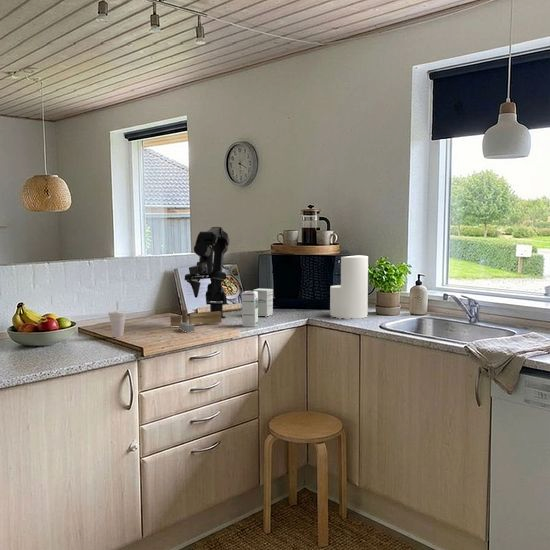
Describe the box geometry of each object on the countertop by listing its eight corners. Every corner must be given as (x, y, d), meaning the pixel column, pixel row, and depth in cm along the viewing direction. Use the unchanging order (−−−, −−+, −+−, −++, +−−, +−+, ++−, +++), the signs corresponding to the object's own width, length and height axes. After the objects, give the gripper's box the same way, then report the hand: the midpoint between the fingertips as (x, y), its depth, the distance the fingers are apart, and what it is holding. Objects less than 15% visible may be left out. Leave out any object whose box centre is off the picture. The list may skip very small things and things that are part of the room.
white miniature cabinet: (255, 327, 234) (255, 292, 233) (241, 326, 235) (241, 292, 234) (258, 324, 240) (258, 290, 239) (245, 324, 241) (245, 290, 240)
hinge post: (170, 327, 233) (170, 310, 233) (186, 326, 237) (186, 309, 236) (172, 328, 232) (171, 311, 231) (188, 326, 235) (188, 310, 234)
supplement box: (252, 316, 262) (252, 289, 261) (259, 314, 269) (259, 288, 268) (267, 317, 259) (267, 290, 258) (273, 315, 266) (273, 288, 265)
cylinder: (373, 315, 265) (374, 255, 262) (358, 320, 250) (358, 257, 248) (340, 312, 274) (340, 255, 272) (323, 317, 259) (323, 256, 257)
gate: (189, 324, 237) (188, 313, 237) (219, 322, 244) (219, 311, 243) (190, 325, 236) (190, 314, 235) (221, 322, 242) (221, 311, 242)
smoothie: (111, 339, 208) (110, 302, 207) (107, 336, 214) (106, 300, 212) (128, 338, 211) (127, 301, 210) (124, 335, 217) (123, 299, 215)
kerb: (179, 329, 229) (179, 322, 229) (186, 328, 230) (186, 322, 230) (186, 333, 221) (186, 325, 221) (194, 332, 222) (193, 325, 222)
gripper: (176, 258, 237) (174, 295, 234) (210, 254, 227) (208, 293, 224) (194, 263, 246) (192, 298, 244) (228, 259, 236) (226, 296, 233)
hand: (204, 297), depth 236 cm, fingers open, 9 cm apart
